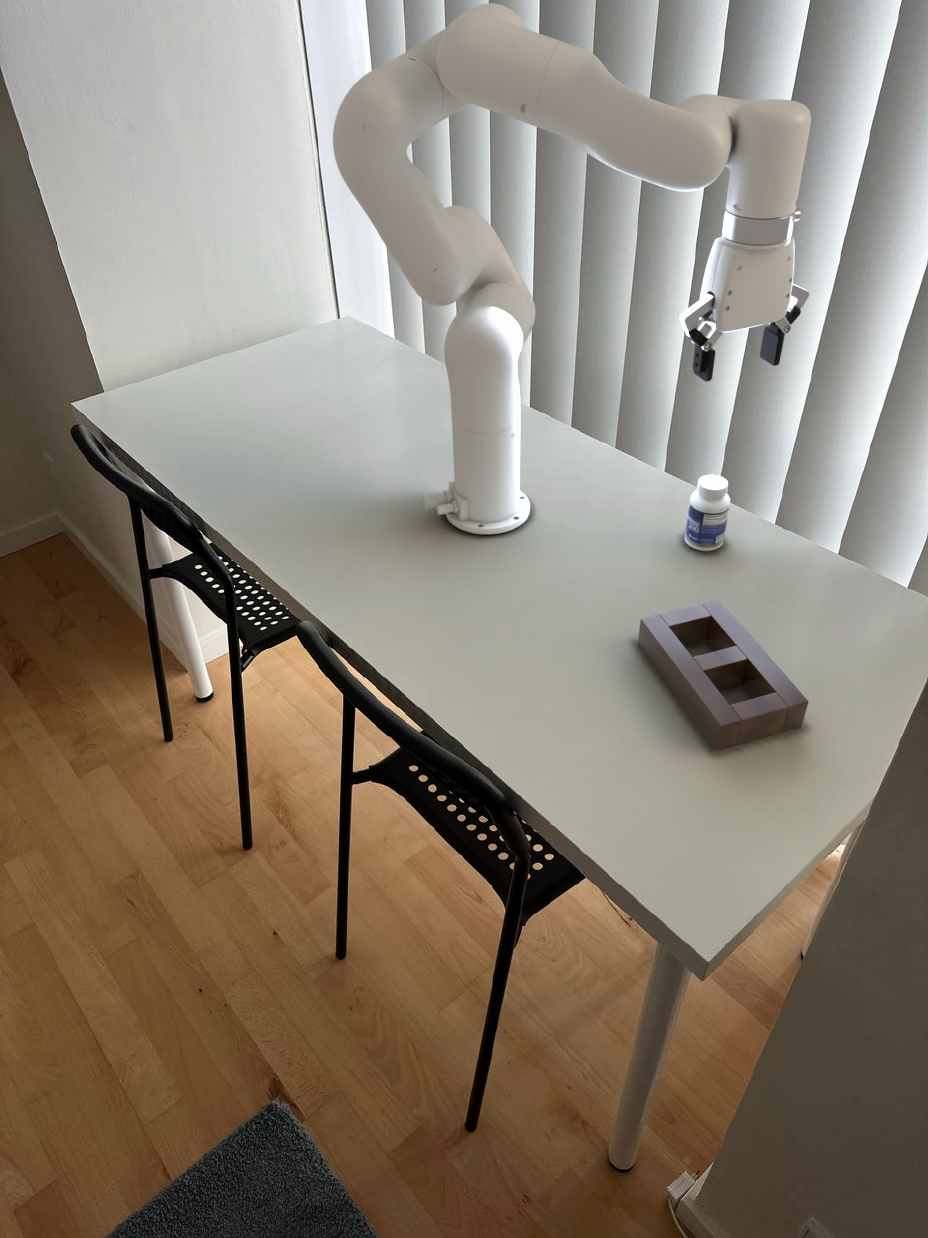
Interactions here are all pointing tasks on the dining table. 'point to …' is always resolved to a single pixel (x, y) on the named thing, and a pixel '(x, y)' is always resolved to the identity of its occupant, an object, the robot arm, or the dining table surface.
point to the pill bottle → (708, 513)
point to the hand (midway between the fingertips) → (735, 369)
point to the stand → (721, 674)
